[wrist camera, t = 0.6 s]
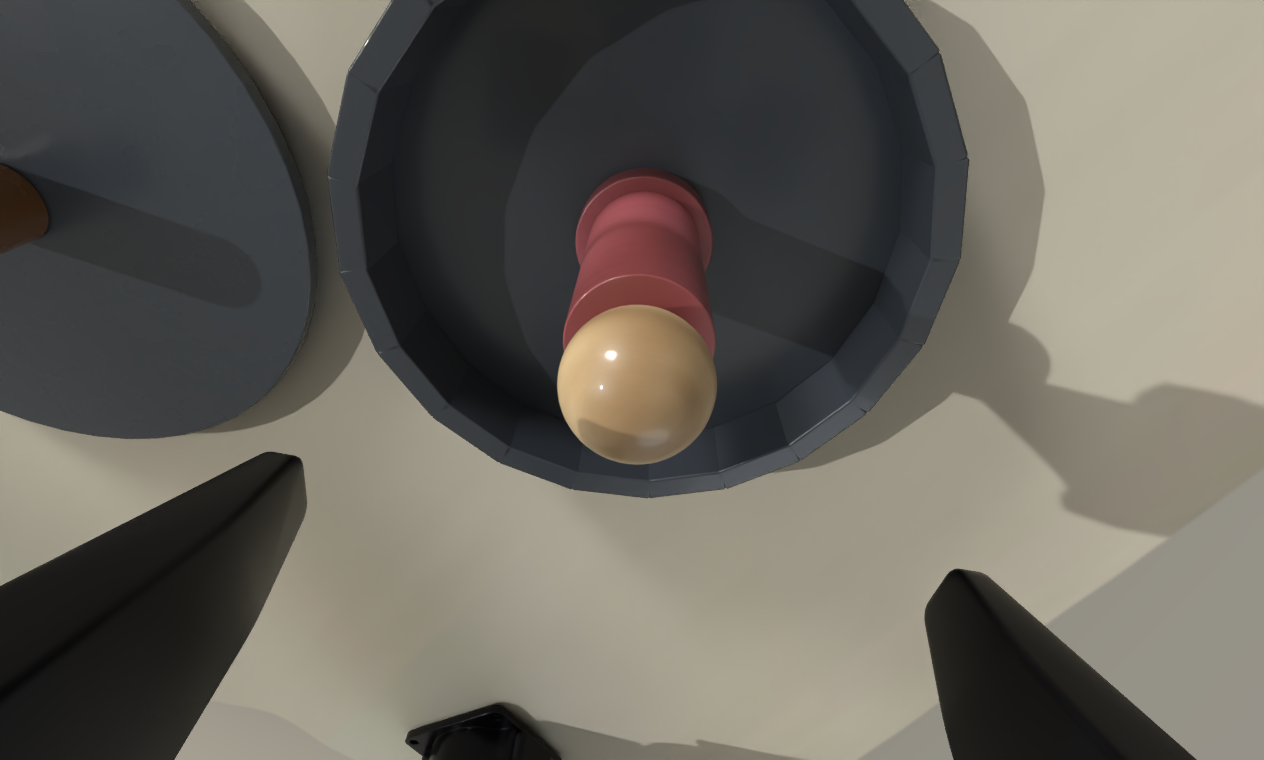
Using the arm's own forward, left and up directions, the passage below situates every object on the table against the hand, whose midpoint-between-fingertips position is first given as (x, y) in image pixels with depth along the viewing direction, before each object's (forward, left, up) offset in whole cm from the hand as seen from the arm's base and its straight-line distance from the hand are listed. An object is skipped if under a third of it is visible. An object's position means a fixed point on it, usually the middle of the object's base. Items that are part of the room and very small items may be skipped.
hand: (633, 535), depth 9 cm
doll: (0, 0, -12) cm, 12 cm away
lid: (-16, +10, -12) cm, 22 cm away
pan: (0, 0, -13) cm, 13 cm away
